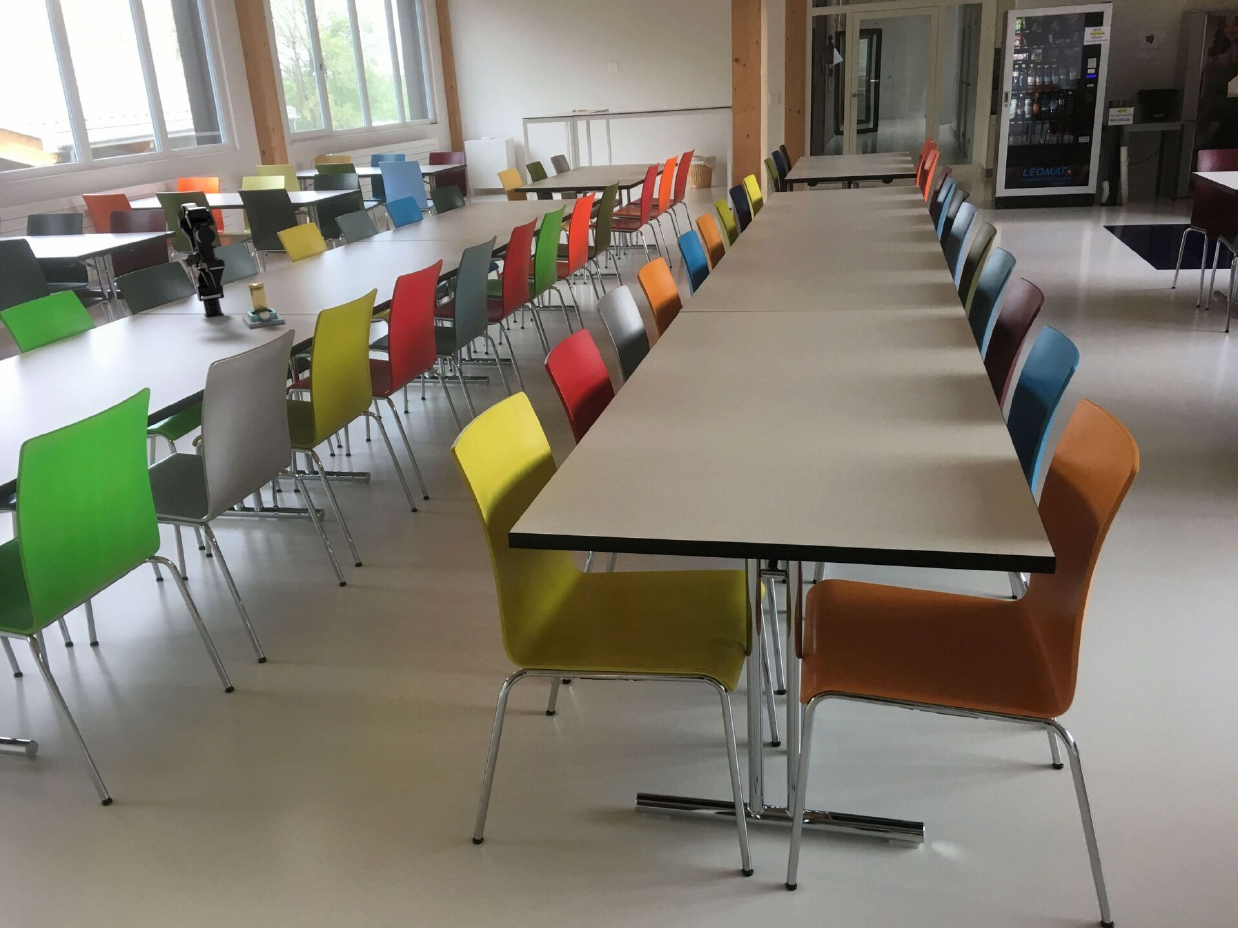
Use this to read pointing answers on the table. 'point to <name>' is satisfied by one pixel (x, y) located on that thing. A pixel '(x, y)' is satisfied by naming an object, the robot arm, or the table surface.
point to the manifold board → (261, 324)
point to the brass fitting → (258, 297)
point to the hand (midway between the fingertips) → (214, 287)
